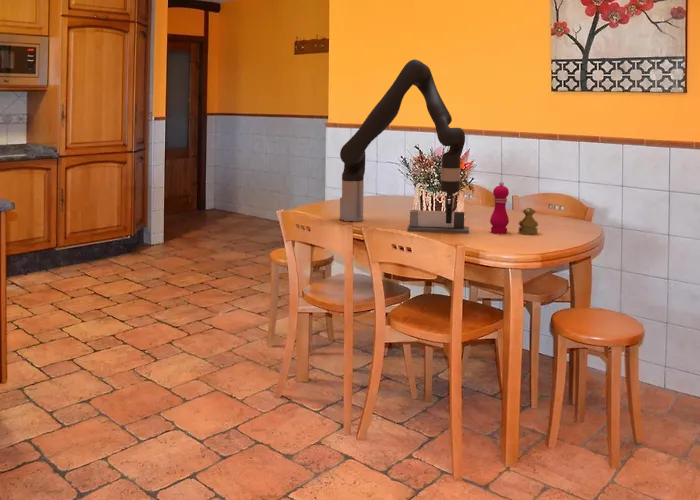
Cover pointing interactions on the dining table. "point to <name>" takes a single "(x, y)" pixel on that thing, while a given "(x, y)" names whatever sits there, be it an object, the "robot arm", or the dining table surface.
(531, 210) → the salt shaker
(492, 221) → the pepper mill
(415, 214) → the block
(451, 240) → the dining table surface
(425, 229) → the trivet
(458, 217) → the block
